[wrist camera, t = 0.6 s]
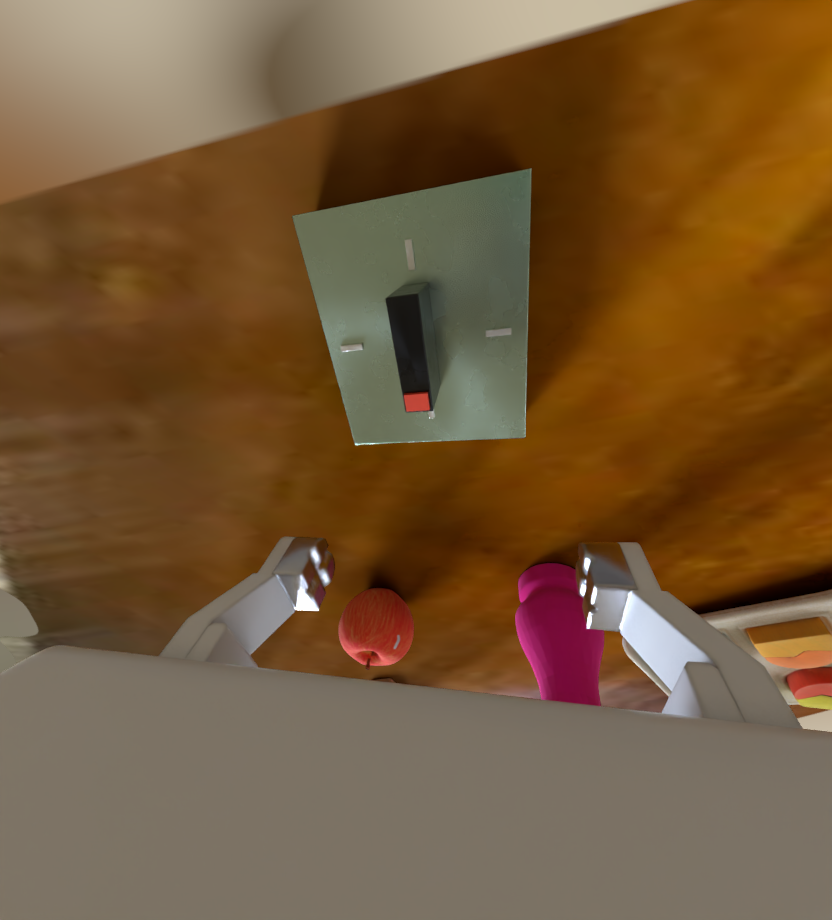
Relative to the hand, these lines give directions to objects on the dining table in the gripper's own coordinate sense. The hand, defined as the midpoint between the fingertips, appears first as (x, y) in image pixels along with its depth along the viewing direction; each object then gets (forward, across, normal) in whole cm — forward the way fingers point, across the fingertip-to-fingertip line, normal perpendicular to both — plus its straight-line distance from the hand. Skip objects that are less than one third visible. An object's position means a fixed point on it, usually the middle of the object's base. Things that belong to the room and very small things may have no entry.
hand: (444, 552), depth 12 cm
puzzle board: (+16, -26, +31) cm, 44 cm away
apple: (+16, +12, +26) cm, 33 cm away
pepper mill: (+16, -6, +22) cm, 28 cm away
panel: (+16, +2, -3) cm, 17 cm away
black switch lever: (+13, +2, -3) cm, 14 cm away
